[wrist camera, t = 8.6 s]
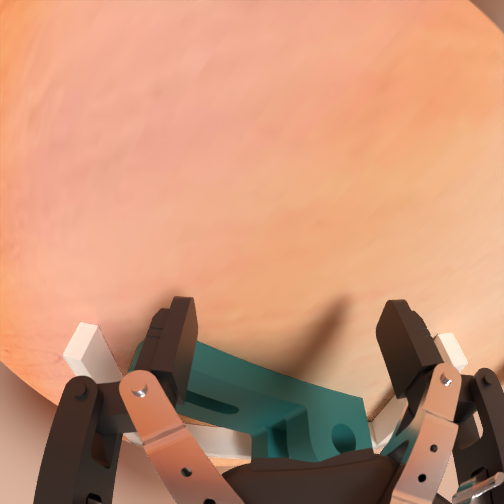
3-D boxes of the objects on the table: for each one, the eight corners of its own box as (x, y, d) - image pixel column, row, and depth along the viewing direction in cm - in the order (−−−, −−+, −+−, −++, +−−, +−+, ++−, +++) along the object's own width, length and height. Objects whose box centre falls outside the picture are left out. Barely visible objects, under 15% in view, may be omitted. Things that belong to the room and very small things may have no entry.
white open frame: (451, 332, 16) (468, 362, 13) (378, 424, 24) (383, 447, 21) (80, 321, 16) (62, 355, 13) (138, 420, 24) (132, 443, 21)
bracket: (361, 396, 20) (378, 477, 14) (309, 425, 23) (315, 495, 17) (153, 317, 15) (113, 440, 9) (127, 365, 18) (98, 456, 12)
